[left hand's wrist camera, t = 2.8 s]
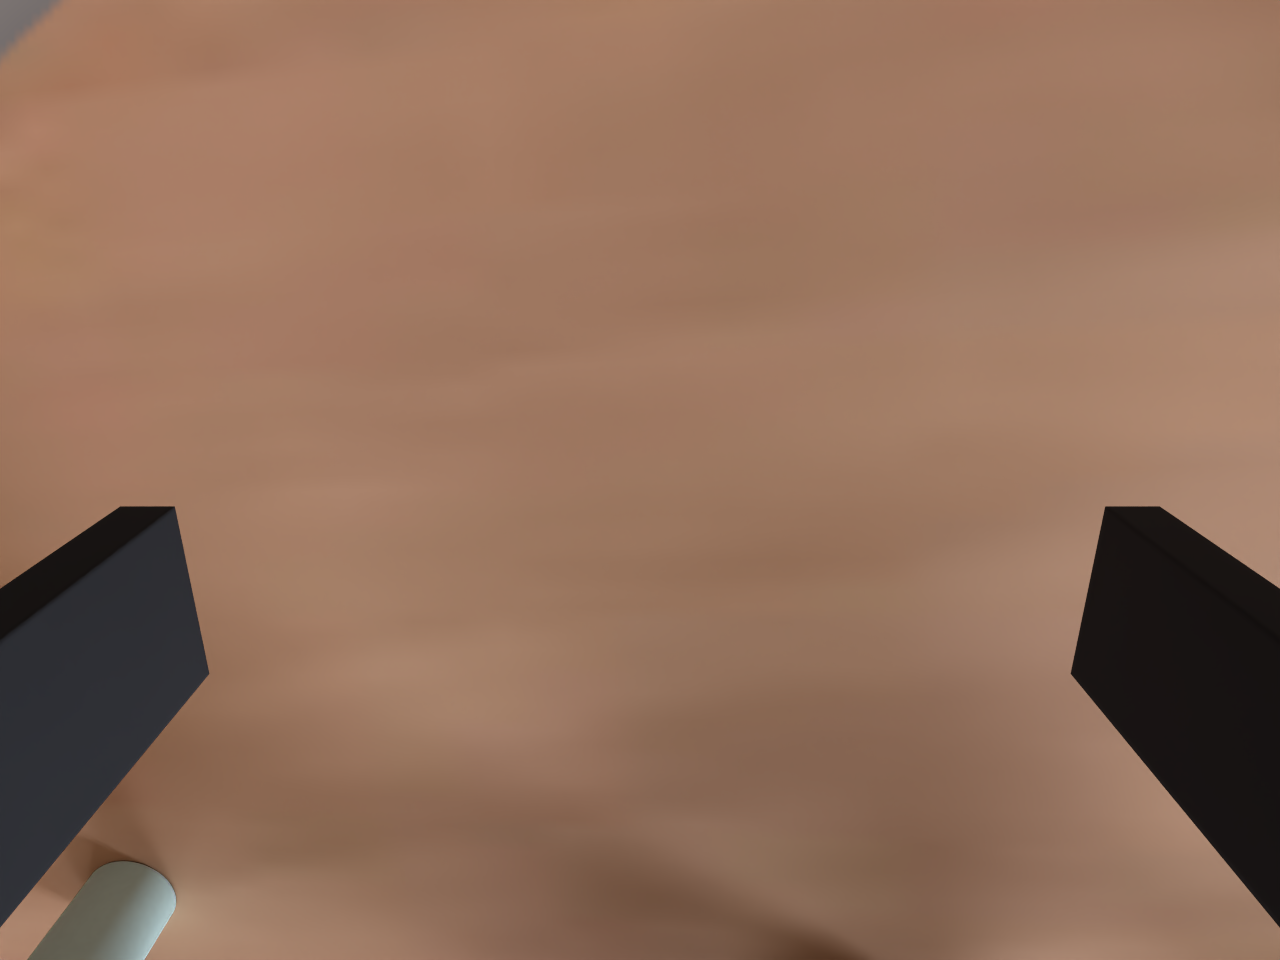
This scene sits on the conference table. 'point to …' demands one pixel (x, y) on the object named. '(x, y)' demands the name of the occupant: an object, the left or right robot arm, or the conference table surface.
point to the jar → (111, 916)
